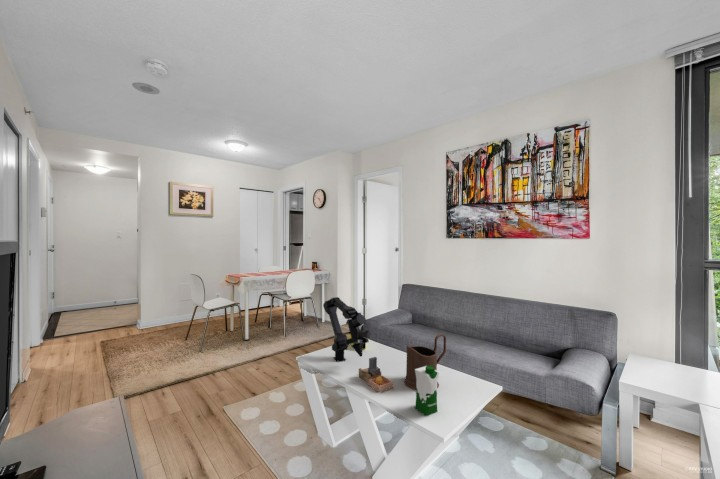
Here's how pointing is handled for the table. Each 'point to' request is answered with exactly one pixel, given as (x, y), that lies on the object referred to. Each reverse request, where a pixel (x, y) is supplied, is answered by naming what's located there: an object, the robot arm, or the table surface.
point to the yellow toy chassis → (363, 345)
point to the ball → (379, 380)
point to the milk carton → (426, 390)
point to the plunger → (373, 367)
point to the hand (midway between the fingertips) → (361, 356)
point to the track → (366, 375)
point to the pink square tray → (384, 386)
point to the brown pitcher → (421, 361)
